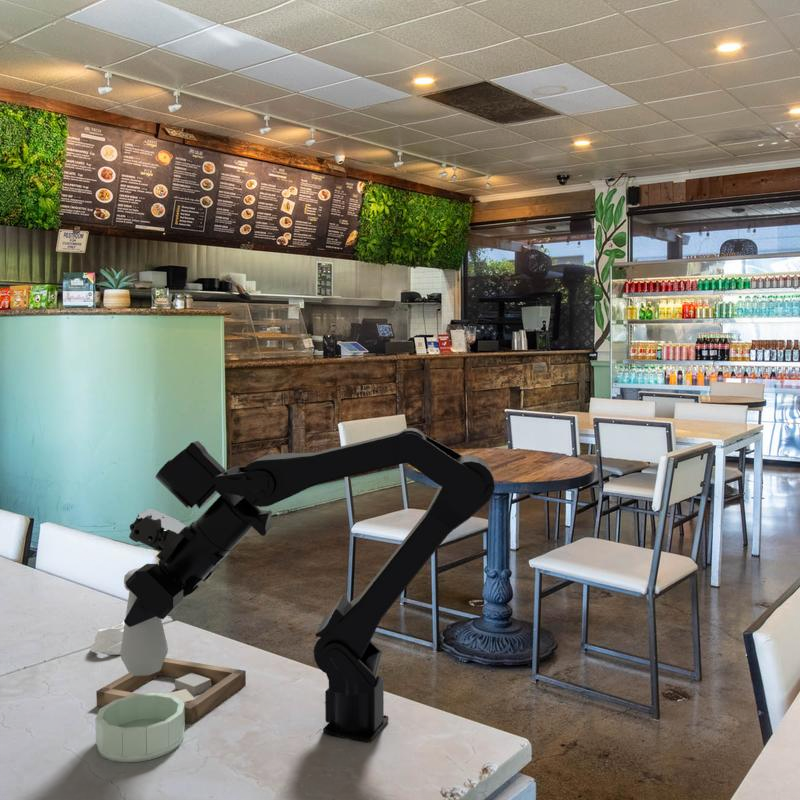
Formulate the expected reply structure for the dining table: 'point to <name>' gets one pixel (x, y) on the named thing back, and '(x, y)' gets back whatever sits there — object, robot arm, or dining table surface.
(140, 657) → the salt shaker
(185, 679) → the off-white rectangular block
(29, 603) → the dining table surface
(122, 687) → the tray
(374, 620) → the robot arm
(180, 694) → the beige rectangular block
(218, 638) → the dining table surface
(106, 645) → the whipped cream
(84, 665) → the dining table surface
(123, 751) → the bowl
